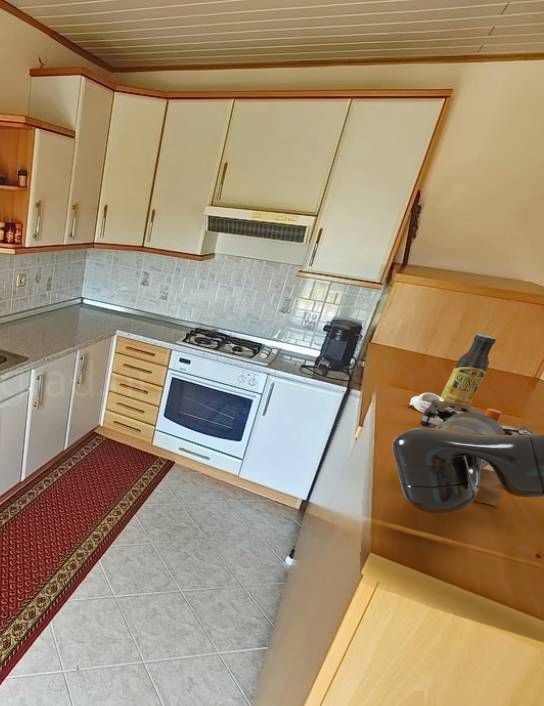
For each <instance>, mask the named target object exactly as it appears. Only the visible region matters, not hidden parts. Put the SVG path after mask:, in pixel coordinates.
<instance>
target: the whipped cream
mask: <svg viewBox="0 0 544 706" xmlns="http://www.w3.org/2000/svg"><path fill="white" fill-rule="evenodd" d="M433 400H438V401H443V402H444V400H443V399H442V398H441V395H438V394H435V393H433V392H424V393H421V394H419V395H415V396H412V397H411V399H410V402H409V405H410V406H412V407H414V409H415V410H417V411H418V412H420V413H422V414H424V412H425V410H426V409H427V408H428V407H429V406H430V405H431V403H432V401H433Z"/></svg>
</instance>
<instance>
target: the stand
mask: <svg viewBox="0 0 544 706" xmlns="http://www.w3.org/2000/svg"><path fill="white" fill-rule="evenodd" d="M505 492H506V491H505V490H504V488H503V487H502V485H501V483H500V482H499V480H498V478H497V476H496V474H495V472H494V470H493V469H492V467H491V466H490V465H489V464H488V465H487V466H485V467H484V468H482V469H481V470H480V482H479V489H478V493H477V496H476V498H475V500H474V501H473V502H477V501H478V503H482V504H486V505H489V506H493V507H497V506H498V505H499V503H500V500H501V499H502V497H503V495H504V493H505Z"/></svg>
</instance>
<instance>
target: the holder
mask: <svg viewBox="0 0 544 706" xmlns="http://www.w3.org/2000/svg"><path fill="white" fill-rule="evenodd" d="M431 405H438V406H439V407H440V409H441V410H445V408H450V407H452V408H454V407H456V406H457V407H461V411H460V412H463V413H465V412H474V413H480V414H483V413H482V412H481V411H480V410H478V409H477V408H476V407H474V406H464V405H459V404H453V403H448V402H443V401H438V400H433V401H432V403H431ZM431 405H430V406H431ZM436 426H437V425H435V424H434V425H433V426H430V425H429V426H428V427H427V428H435V427H436Z"/></svg>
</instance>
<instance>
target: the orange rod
mask: <svg viewBox="0 0 544 706" xmlns="http://www.w3.org/2000/svg"><path fill="white" fill-rule="evenodd" d="M502 413H503V412H502V411H500V410H498V409H495V408H490V407H488V408H486V411H485V413H484V415H486V416H488V417H490V418H492V419H493V420H495V421H496V422H497V423H498V422H499V420H500V417H501V415H502Z"/></svg>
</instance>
